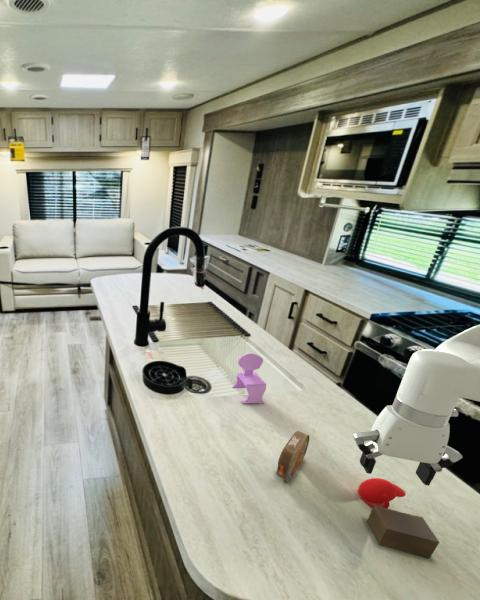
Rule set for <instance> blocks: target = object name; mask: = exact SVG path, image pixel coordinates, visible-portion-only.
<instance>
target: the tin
mask: <svg viewBox="0 0 480 600" xmlns="http://www.w3.org/2000/svg"><path fill="white" fill-rule="evenodd" d="M309 442H310V435H309V434H306V433H304V432H301V431H299V430H297V431H295V432H294V433H293V434H292V436H291V437H290V438H289V440H288V441H287V442H286V444H285V446H284V447H283V449H282V451H281V453H280V455H279V457H278V460H277V468H276V476H278V477H279V478H281V479H283V480H285V481H286V482H287V483H289V482H290V481H291V480H292V478H294V476H295V474H296V473H297V471H298V469H299V467H300V466H301V464H302V463H303V461H304V458H305V456H306V453H307V450H308V447H309V444H310V443H309Z"/></svg>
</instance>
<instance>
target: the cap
mask: <svg viewBox="0 0 480 600" xmlns="http://www.w3.org/2000/svg"><path fill="white" fill-rule="evenodd" d="M357 495H358V497H359V498H360V500H361V501H362V502H363V503H364V504H365V505H367V506H368V507H370V508H371V509H373V507H374V506H378V507H382V508H386V509H389V507H390V502H391V501H393V500H394V499H395V498H403V497H404V498H405V496H406V492H405V490H404V489H402V488H401V487H400V486H398V485H396V484H395V483H392V482H391V481H389V480H387V479H385V478H380V477H375V478H374V477H372V478H367V479H365V480H364V481H362V482H361V483H360V485H358V488H357Z"/></svg>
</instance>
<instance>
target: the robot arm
mask: <svg viewBox="0 0 480 600" xmlns="http://www.w3.org/2000/svg"><path fill="white" fill-rule="evenodd" d="M408 360H409V361H408V363H407V365H406V369H405V372H403V376H402V379H401V380H400V381H401V382H400V384H399V387H398V389H397V393H396V394H395V397H394V400H393V403H392V405H391V404H390V405H386V406H385V407H384V408H383V409H382V410H381V412H380V413H379V414H378V416H377V417H376V419H375V421H374V423H373V425H372V427H371V428H370V430H369V431H364V432H363V431H362V432H355V433H353V434H352V437H353V440H354V441H355V445H356V446H357V448H358V449H359V450H360V451H361V452H362V453H361V456H360V458H359V464H360V465H361V467H363V469H364V471H365V473H366V474H368V475H370V474H372V473H373V470H374V468H375V466H376V462H377V460H376V458H378V457H381V456H383V455H384V456H388V457H392V458H396V459H401V460H402V459H403V460H407V461H413V462H419V464H418V466H417V468H416V470H415V474H416V476H417V477H418V479H419V480H420V481H421V482H422V484H423V485H424V486H430V485H431V483H432V481H433V480H434V478H435V476H436V474H437V473H441V472H442V471H443V469H445V468H448V467H452V466H453V465H454V463H456V462H458V461H460V460H461V459H463V455H462V454H461V453H460V452H459V451H458V450H456V449H455V448H453V447H451V446H449V445H448V443H449V438H450V432H451V431H450V429H451V428H450V426H451V425H450V423H449V421H450V419H451V417H452V418H453V417H454V418H456V417H457V418H458V417H459V411H458V410H457V409H455V407H456V405H457V403H458V401H459V399H466V400H469V401H470V400H471V401H475V402H479V403H480V324H477V325H475V326H472V327H470V328H468V329H465V330H464V331H462V332H460V333H457V334H456V335H453V336H452V337H449V338H448V339H447V340H445V341H443V342H441V343H440V344H439V345H438V346H437V347H436V348H435V349H429V348H428V349H419V350H416V351H414V352H413V353H412V355H411V356H410V358H409V359H408ZM365 442H367V443H365ZM373 449H374V450H373Z"/></svg>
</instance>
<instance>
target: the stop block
mask: <svg viewBox="0 0 480 600" xmlns="http://www.w3.org/2000/svg"><path fill="white" fill-rule="evenodd" d="M366 522H367V525H368V526H369V529H370V531H371V534H372V535H373V537H374V538H375V540H376V542H377V544H378V546H380V547H384V548H388V549H392V550H396V551H399V552H402V553H407V554H409V555H412V556H413V555H414V556H417V557H421V558H425V559H429V560H430V559H431V557H432V555H433V554H434V552H435V551H436V549H437V547H438V546H439V544H440V541H439V539H438V538H437V537H436V535H435V533H434V532H433V531H432V529H431V527H430V526H429V524H428V523H427V522H426V520H425V519H424V517H422V516H419V515H416V514H415V515H414V514H410V513H406V512H403V511H399V510H394V509H392V508H391V509H390V508H388V509H386V508H382V507H378V506H374V507H373V508H371V511H370V514H369V516H368V518H367V520H366Z"/></svg>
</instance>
